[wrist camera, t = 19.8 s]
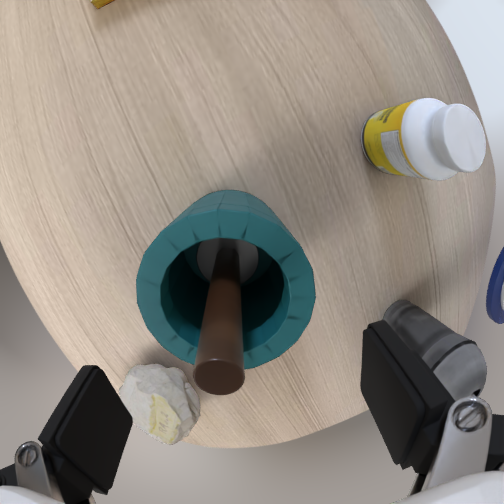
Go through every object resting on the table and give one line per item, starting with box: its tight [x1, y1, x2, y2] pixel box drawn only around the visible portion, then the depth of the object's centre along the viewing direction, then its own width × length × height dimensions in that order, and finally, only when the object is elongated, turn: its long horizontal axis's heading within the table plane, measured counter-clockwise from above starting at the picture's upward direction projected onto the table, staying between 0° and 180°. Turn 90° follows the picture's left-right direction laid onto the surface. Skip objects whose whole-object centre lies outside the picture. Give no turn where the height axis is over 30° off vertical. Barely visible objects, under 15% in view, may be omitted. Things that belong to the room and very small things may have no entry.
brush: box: [193, 238, 259, 395], centre depth 17 cm, size 5×5×17 cm
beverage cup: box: [383, 300, 487, 401], centre depth 20 cm, size 7×7×20 cm
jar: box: [136, 190, 316, 369], centre depth 20 cm, size 10×10×12 cm
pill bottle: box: [361, 98, 486, 181], centre depth 18 cm, size 6×6×12 cm
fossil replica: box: [119, 363, 200, 445], centre depth 27 cm, size 12×8×10 cm
